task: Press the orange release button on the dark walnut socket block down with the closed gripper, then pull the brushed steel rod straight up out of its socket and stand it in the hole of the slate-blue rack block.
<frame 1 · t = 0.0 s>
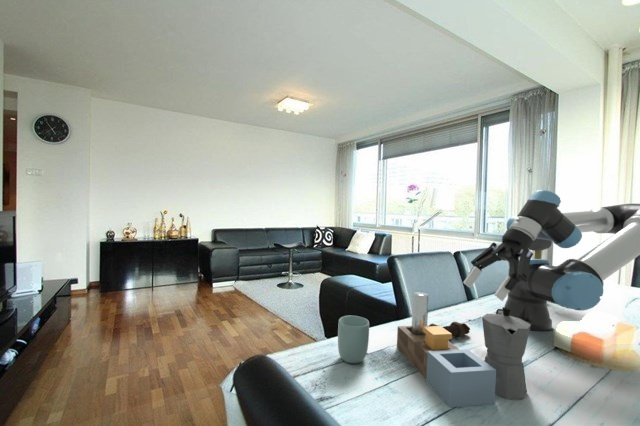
hand: (481, 291, 92), 15 cm above the table, tool tilted 35°, fingers open, 13 cm apart
coffeepot: (501, 386, 70), on the table
rubber mallet: (535, 300, 141), on the table
cup: (352, 360, 79), on the table
release button: (436, 343, 75), point 6 cm above the table, slide at 0.0 cm
rack block: (458, 392, 66), on the table
brushed steel rod: (418, 353, 84), resting in socket block
bolt: (450, 339, 94), on the table
socket block: (426, 360, 79), on the table
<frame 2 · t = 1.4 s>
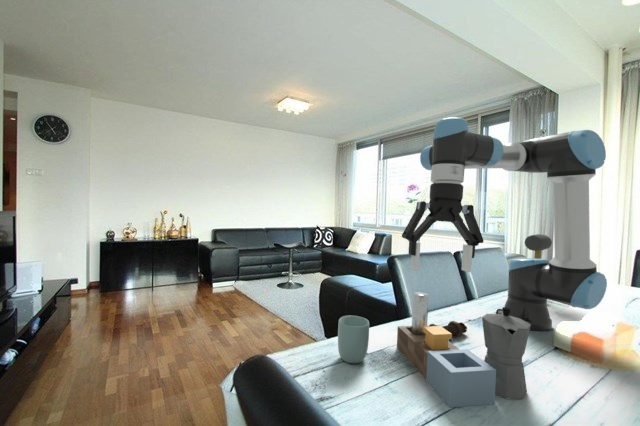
hand: (440, 270, 76), 24 cm above the table, tool pointing down, fingers open, 13 cm apart
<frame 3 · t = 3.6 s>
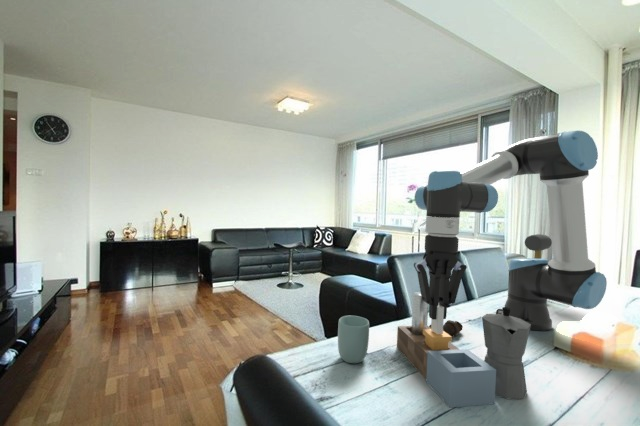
hand: (436, 331, 75), 9 cm above the table, tool pointing down, fingers closed
release button: (436, 346, 75), point 6 cm above the table, slide at 0.7 cm, touching gripper
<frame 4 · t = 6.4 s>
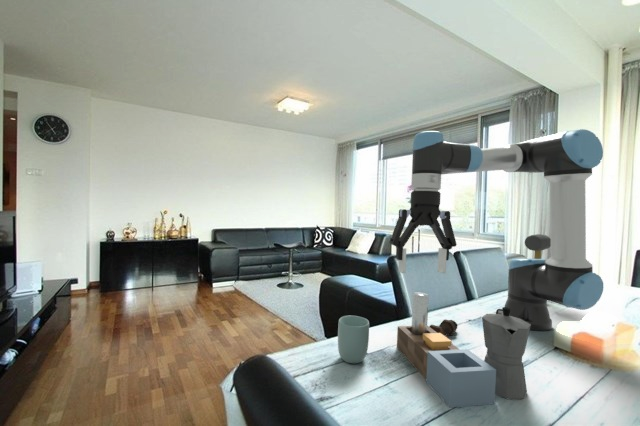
hand: (421, 272, 83), 22 cm above the table, tool pointing down, fingers open, 11 cm apart
release button: (436, 350, 75), point 5 cm above the table, slide at 1.7 cm
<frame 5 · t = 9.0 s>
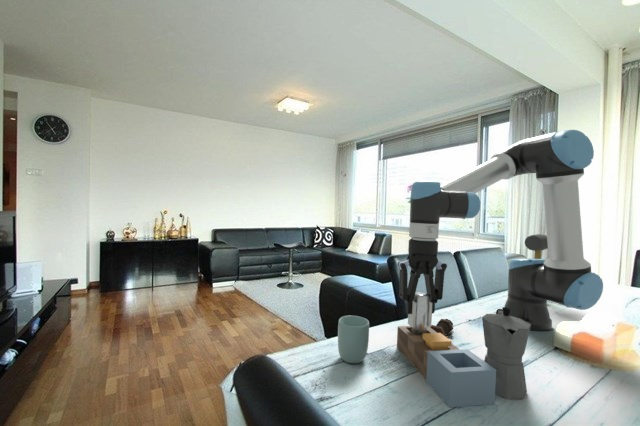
hand: (419, 325, 84), 8 cm above the table, tool pointing down, fingers closed on brushed steel rod, 4 cm apart
brushed steel rod: (418, 353, 84), resting in socket block, touching gripper
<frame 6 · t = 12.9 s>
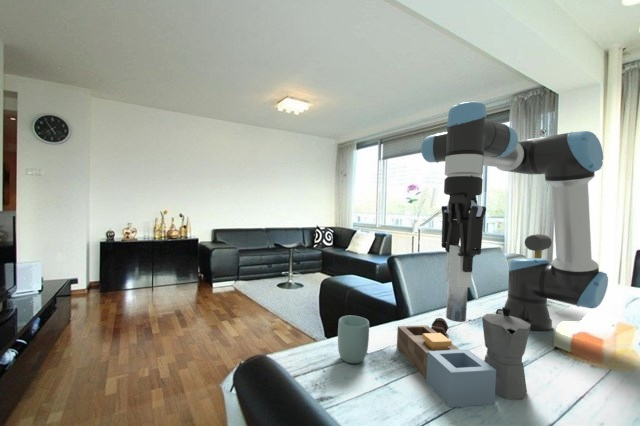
hand: (457, 283, 67), 23 cm above the table, tool pointing down, fingers closed on brushed steel rod, 4 cm apart
brushed steel rod: (455, 318, 68), point 15 cm above the table, touching gripper
when the fingers open (11 cm above the table, at t = 16.2 s): brushed steel rod drops 3 cm, resting in rack block.
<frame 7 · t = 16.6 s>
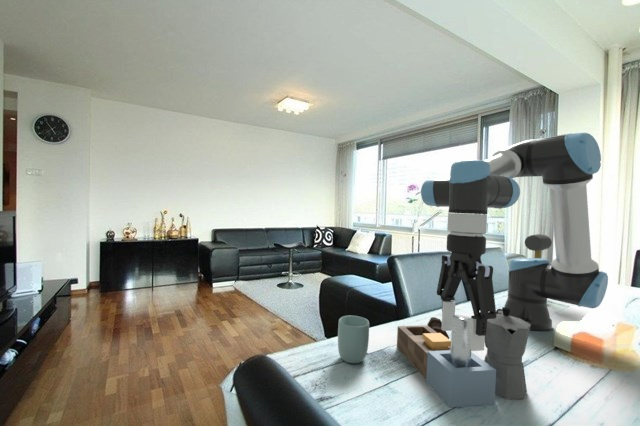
hand: (461, 339, 66), 11 cm above the table, tool pointing down, fingers open, 9 cm apart
brushed steel rod: (458, 392, 66), resting in rack block
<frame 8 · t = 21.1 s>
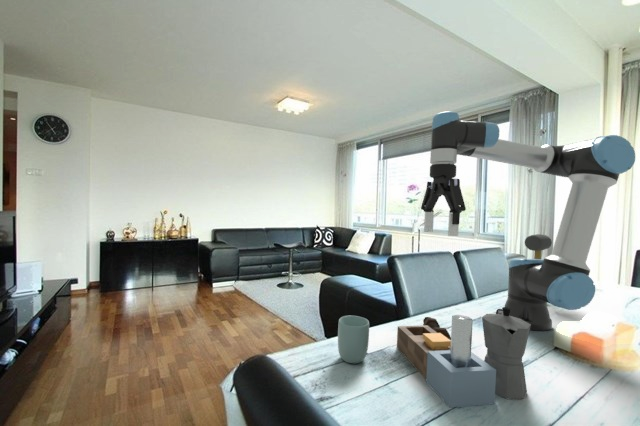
hand: (439, 233, 95), 32 cm above the table, tool pointing down, fingers open, 13 cm apart
at the end: brushed steel rod 0.0 cm off-centre on the rack block, point 0.0 cm above the rack block's base; brushed steel rod tilted 0°; release button slide at 1.7 cm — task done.
